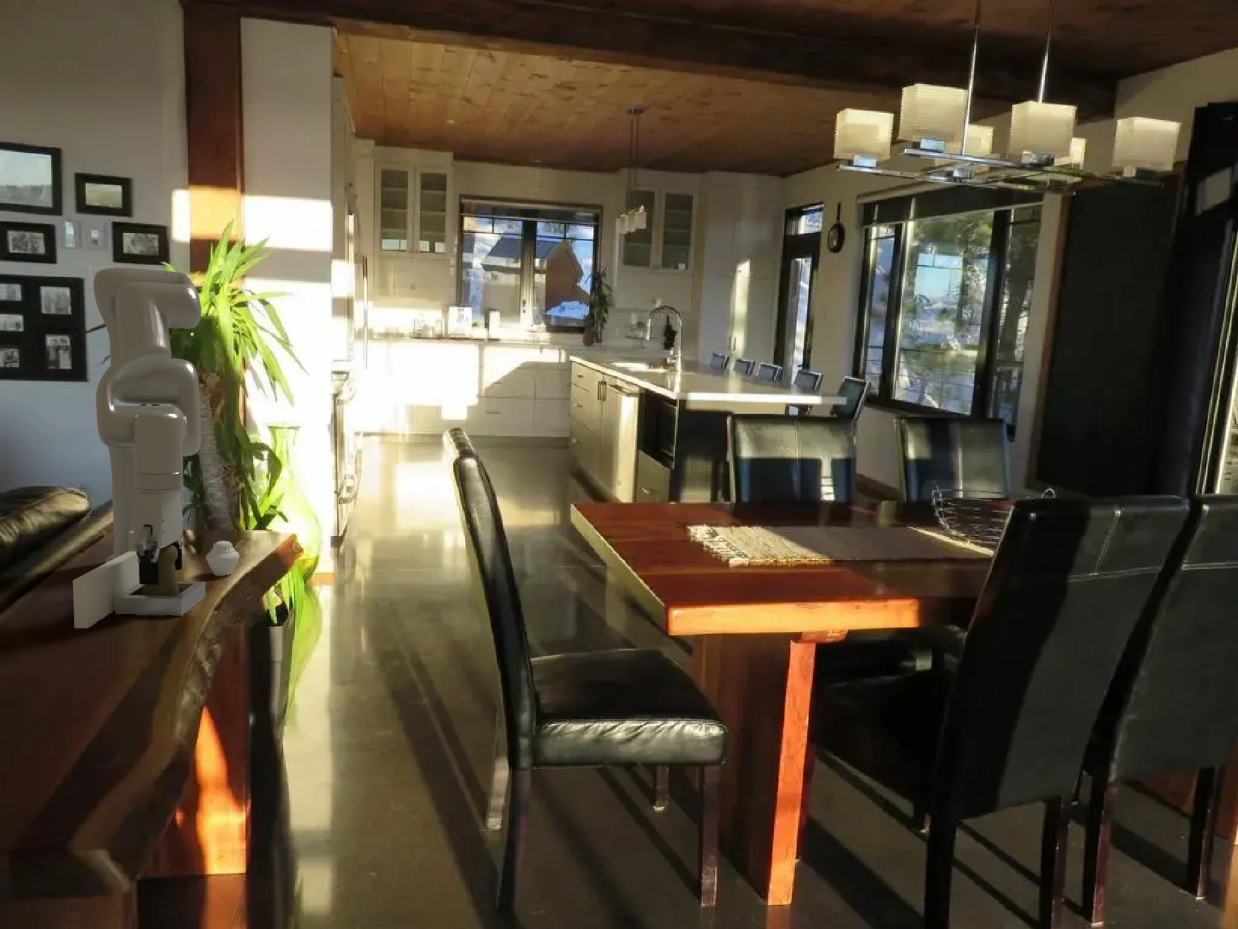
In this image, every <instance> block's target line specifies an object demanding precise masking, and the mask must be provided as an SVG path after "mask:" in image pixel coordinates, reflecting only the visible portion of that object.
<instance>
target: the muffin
mask: <svg viewBox="0 0 1238 929" xmlns="http://www.w3.org/2000/svg"><path fill="white" fill-rule="evenodd" d="M210 550H211V551H209V552H208V553H207V555H206V556H205V559H206V561H207V565H208V567H209V568H210V570H211V571H212V574H214V576H216V577H225V575H227V576H230V575H229V574H231V573H232V574H233V572H234V571H235V568H236V566H237V564H238V563H239V560H240V554H239V552H238V551H236V550H235V548H234V547H233V544H232V543H231V542H230V541H228V540H227V541H226V540H220V541H216V542H215V543H214V544H213V547H212V549H210ZM232 574H231V575H232Z"/></svg>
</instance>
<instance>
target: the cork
mask: <svg viewBox="0 0 1238 929" xmlns="http://www.w3.org/2000/svg"><path fill="white" fill-rule="evenodd" d="M150 552H151V554H153V550H150ZM177 556H178V552H177V549H176V547H175V546H173V545H171V544H170V545H168V546H166V547H164V548H162V549H160V551H159V555H158V558H157V561H158V562H159V568H160V583H159V584H158V585H146V589H145V596H177V595H179V594H180V593H179V587H178V582H177V581H178V577H177V570H175V564H174V562H175V561H176V559H177Z"/></svg>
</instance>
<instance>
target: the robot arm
mask: <svg viewBox="0 0 1238 929" xmlns="http://www.w3.org/2000/svg"><path fill="white" fill-rule="evenodd" d="M92 284H93V292H94V293H93V294H94V299H95V302H96V306H97V309H98V311H99V314H100V316H101V318H102V320H103V322H104V324H105V325H104V326H105V328H106V330H107V333H108V339H109V352H110V353H109V354H110V356H109V357H110V365H109V367H108V368H107V369H106V370H105V372H104V373H103V374H102V376H101V378H100V379H99V382H98V385H97V388H96V393H95V394H96V395H95V406H96V407H95V408H96V409H95V411H96V423H97V425H96V426H97V431H98V432H97V433H98V437H99V438H100V441H101V442H102V443H103V444H104V446H105V445H106V447H107V448H108V449H107V450H108V452H109V461H110V471H111V485H112V486H111V490H112V493H111V495H112V520H113V522H112V523H113V526H112V527H113V530H112V531H113V554H112V555H109V556H108V557H107V558H105V563H107V562H109V561H111V560H113V559H115V558H117V557H119V556H121V555H123V554H125V553H127V552H128V532H130V531H133V545H134V547H135V548H136V549H137V552H136V554H137V556H138V559H137V560H138V562H139V583H140V584H142V585H158V584H159V583H160V568H159V562H158V561H157V558H158V555H159V551H160V549H162V548H164V547H166V546H168V545H170V544H171V545H173V546H175V547H176V549H177V552H178V556H177V559H176V561H175V562H174V564H175V570H176V571H181V570H182V569H183V545H184V544H183V540H182V538H183V536H184V532H183V530H184V529H183V528H184V517H183V516H184V515H183V503H182V494H181V491H183V490H184V458H183V457H189V456H193V455H195V454H197V453H198V452H199V450H200V449H201V445H202V420H201V400H200V385H199V384H200V382H199V376H198V372H197V369H196V367H195V366H194V364H193V363H192V362H191V361H189V360H187V359H182V358H172V349H171V341H170V332H169V328H170V329H171V328H172V329H195V328H196V327H197V326H198V325H199V323H200V321H201V317H202V305H201V299H200V296H199V292H198V290H197V288H196V286H195V284H194V283H193V282H192V280H191V278H190V276H188V274H186V273H184V272H180V271H173V270H172V271H169V270H158V269H156V270H155V269H145V268H135V267H134V268H133V267H107V268H104V269H103V268H102V269H101V270H99V271H97V272H96V273H95V275H94V277H93V283H92ZM114 397H115V399H116V400H117V401H118V402H120V403H123V404H131V405H116V404H115V403H114ZM150 550H153V554H151V552H150Z"/></svg>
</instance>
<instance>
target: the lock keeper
mask: <svg viewBox="0 0 1238 929" xmlns="http://www.w3.org/2000/svg"><path fill="white" fill-rule="evenodd" d="M177 582H178V587H179V593H180V594H179V595H177V596H145V589H146V585H142V584H140V583H138V584H136V585H135V586H133V587H131V588H130V589H128V590H126V591H125V592H123V593H121V594H120V595H118V596H116V597H115V611H114V612H115V613H116V614H115V613H114V614H115V615H120V613H121V614H134V615H133V616H165V615H171V616H172V615H173V616H174V617H176V616H177V617H178V616H179V617H180V616H181V617H182V616H184V615H185V614H187V612H189V611H190V610H191V609H193V608H194V607H195V606H197V605H198V604H199V603H200V602H202V601H203V600H205V599H206V598H205V597H206V581H191V580H187V581H186V580H184V581H183V580H177ZM197 603H198V604H197ZM192 607H193V608H192ZM117 613H119V614H117ZM184 613H185V614H184ZM135 614H136V615H135ZM183 614H184V615H183ZM171 616H170V617H171Z"/></svg>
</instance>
